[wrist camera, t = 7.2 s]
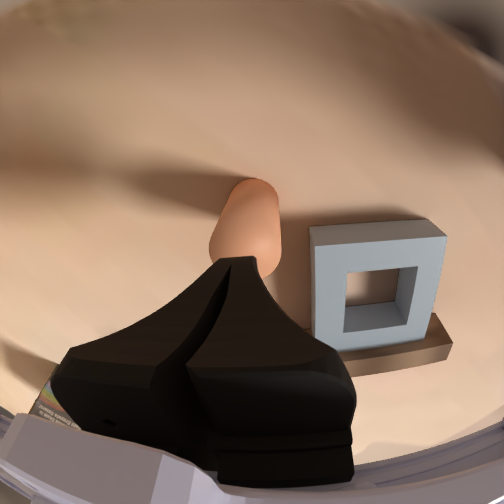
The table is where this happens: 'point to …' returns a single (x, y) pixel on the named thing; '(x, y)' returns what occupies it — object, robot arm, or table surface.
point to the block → (369, 259)
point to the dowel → (249, 226)
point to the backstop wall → (400, 353)
